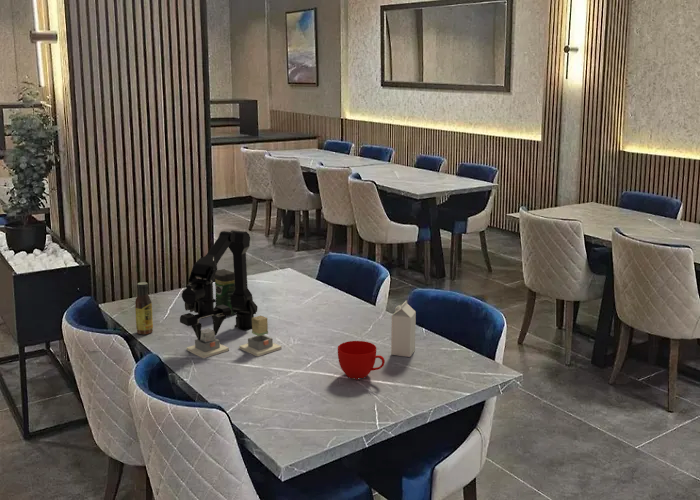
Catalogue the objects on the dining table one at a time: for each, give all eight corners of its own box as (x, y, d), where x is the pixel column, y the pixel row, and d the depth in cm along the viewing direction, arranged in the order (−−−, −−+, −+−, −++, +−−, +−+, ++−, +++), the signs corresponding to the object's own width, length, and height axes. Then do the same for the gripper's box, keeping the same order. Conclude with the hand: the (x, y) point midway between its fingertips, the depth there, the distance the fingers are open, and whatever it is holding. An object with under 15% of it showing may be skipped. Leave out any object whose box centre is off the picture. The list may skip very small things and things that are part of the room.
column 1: (209, 343, 275) (208, 328, 274) (215, 346, 273) (214, 331, 271) (199, 346, 273) (198, 330, 271) (205, 349, 270) (205, 333, 268)
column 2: (261, 330, 276) (260, 315, 275) (268, 333, 273) (267, 318, 272) (251, 333, 273) (251, 317, 272) (258, 336, 270) (258, 320, 269)
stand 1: (211, 342, 280) (211, 332, 280) (228, 350, 273) (228, 340, 272) (186, 350, 273) (185, 339, 272) (203, 358, 265) (202, 347, 264)
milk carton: (415, 350, 273) (416, 301, 269) (410, 357, 267) (411, 306, 262) (396, 348, 275) (397, 299, 271) (390, 355, 269) (391, 304, 264)
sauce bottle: (148, 335, 288) (145, 286, 283) (133, 334, 289) (130, 285, 284) (156, 330, 294) (153, 281, 289) (141, 329, 295) (138, 280, 290)
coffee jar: (241, 313, 314) (239, 271, 310) (225, 317, 309) (223, 274, 304) (228, 308, 321) (226, 266, 317) (212, 312, 316) (210, 269, 311)
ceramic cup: (374, 389, 240) (374, 360, 238) (330, 377, 249) (330, 349, 247) (393, 375, 251) (393, 347, 249) (350, 365, 260) (350, 338, 257)
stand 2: (263, 341, 282) (263, 331, 281) (281, 348, 274) (281, 338, 274) (239, 348, 275) (239, 338, 274) (257, 356, 267) (257, 346, 266)
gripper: (214, 286, 280) (216, 326, 284) (170, 296, 267) (172, 337, 271) (231, 293, 272) (233, 333, 276) (187, 303, 260) (189, 346, 263)
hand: (207, 337), depth 272 cm, fingers open, 7 cm apart
